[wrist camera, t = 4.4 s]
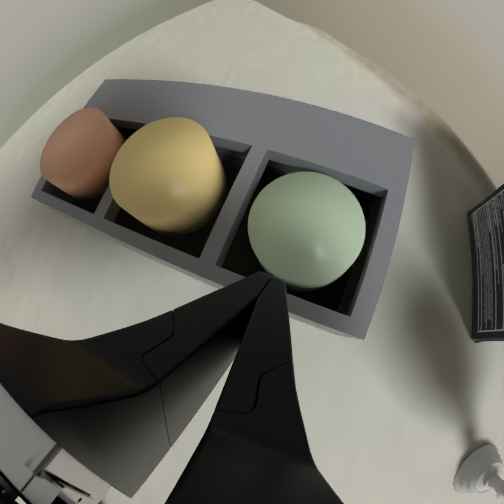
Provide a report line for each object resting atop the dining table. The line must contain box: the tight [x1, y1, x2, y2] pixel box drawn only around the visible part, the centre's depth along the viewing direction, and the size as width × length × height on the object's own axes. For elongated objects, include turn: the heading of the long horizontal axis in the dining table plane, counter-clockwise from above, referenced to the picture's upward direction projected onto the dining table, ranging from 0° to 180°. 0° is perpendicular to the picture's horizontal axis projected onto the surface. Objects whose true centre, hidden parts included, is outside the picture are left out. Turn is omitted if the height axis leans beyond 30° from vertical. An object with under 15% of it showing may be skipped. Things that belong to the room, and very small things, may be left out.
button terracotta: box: [40, 107, 126, 201], centre depth 15 cm, size 5×5×3 cm
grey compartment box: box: [31, 79, 414, 340], centre depth 18 cm, size 11×22×8 cm, turn 67°
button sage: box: [248, 172, 365, 292], centre depth 14 cm, size 5×5×3 cm
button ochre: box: [109, 117, 227, 236], centre depth 14 cm, size 5×5×3 cm
